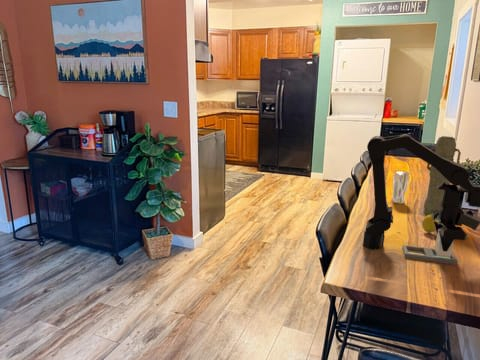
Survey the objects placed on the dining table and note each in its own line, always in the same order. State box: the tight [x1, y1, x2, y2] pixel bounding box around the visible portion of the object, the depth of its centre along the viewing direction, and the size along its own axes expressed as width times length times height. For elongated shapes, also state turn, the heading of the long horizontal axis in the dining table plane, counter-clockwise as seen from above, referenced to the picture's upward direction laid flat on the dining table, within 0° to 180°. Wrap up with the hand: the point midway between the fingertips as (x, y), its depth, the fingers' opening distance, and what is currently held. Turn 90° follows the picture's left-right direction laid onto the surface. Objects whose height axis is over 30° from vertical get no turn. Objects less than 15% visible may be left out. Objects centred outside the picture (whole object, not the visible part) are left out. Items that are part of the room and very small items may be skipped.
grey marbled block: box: [391, 170, 410, 205], centre depth 175 cm, size 7×7×15 cm
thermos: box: [423, 135, 462, 216], centre depth 156 cm, size 9×12×35 cm
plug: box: [434, 228, 455, 257], centre depth 116 cm, size 4×4×9 cm
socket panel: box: [401, 244, 459, 266], centre depth 119 cm, size 16×7×2 cm, turn 73°
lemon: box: [421, 214, 437, 234], centre depth 138 cm, size 6×6×8 cm
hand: (443, 248), depth 117 cm, fingers closed on plug, 4 cm apart
